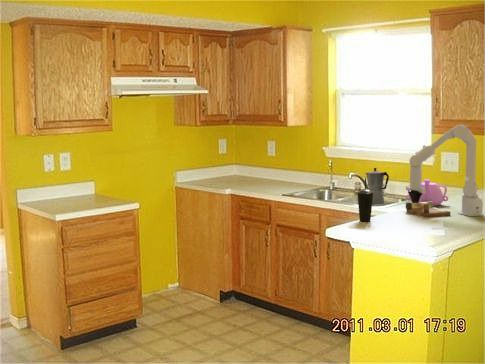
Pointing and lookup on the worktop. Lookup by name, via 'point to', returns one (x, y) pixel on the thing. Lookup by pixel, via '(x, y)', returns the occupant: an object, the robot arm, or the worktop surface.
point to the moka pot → (377, 185)
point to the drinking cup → (365, 204)
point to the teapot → (431, 193)
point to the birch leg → (418, 205)
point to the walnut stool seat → (429, 211)
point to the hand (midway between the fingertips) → (415, 205)
